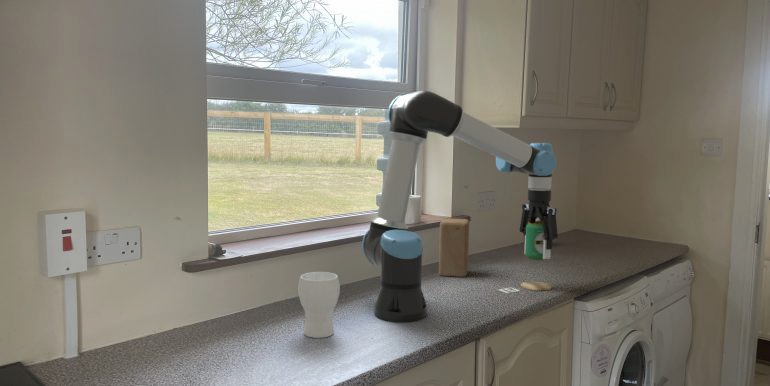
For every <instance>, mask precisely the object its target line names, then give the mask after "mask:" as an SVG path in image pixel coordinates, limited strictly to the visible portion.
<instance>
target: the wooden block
mask: <svg viewBox="0 0 770 386" xmlns="http://www.w3.org/2000/svg"><path fill="white" fill-rule="evenodd" d="M469 237H470V220H469V219H467V218H448V217H447V218H445V217H444V218H442V220H441V221H440V223H439V246H438V247H439V249H438V275H439V276H443V277H458V278H465V277H466V276H467V274H468V270H469V242H470V241H469V240H470V239H469Z"/></svg>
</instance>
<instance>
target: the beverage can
mask: <svg viewBox="0 0 770 386" xmlns="http://www.w3.org/2000/svg"><path fill="white" fill-rule="evenodd" d="M544 239H545V235H544V228H543V224H542V223H541V221H535V222H534V223H530V222H528V224H527V226H526V245H525V244H524V252H525V254H524V255H525V256H526V259H528V260H531V261H532V260H533V261H546V260H548V259H543V240H544Z"/></svg>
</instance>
